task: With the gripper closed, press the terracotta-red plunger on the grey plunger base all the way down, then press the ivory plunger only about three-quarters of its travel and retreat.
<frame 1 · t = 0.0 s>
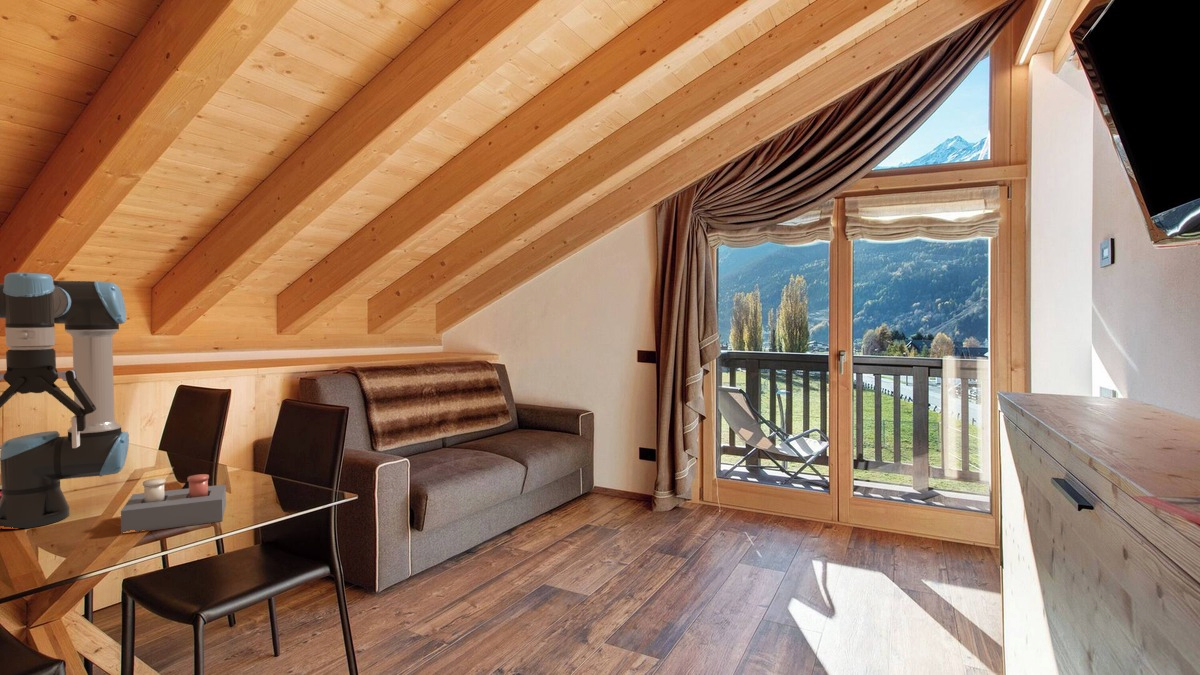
hand: (34, 450, 129), 28 cm above the table, fingers open, 13 cm apart
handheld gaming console: (185, 500, 188), on the table
ivory plunger: (154, 493, 167), point 8 cm above the table, slide at 0.0 cm
red plunger: (198, 488, 172), point 8 cm above the table, slide at 0.0 cm
grey plunger base: (177, 518, 170), on the table
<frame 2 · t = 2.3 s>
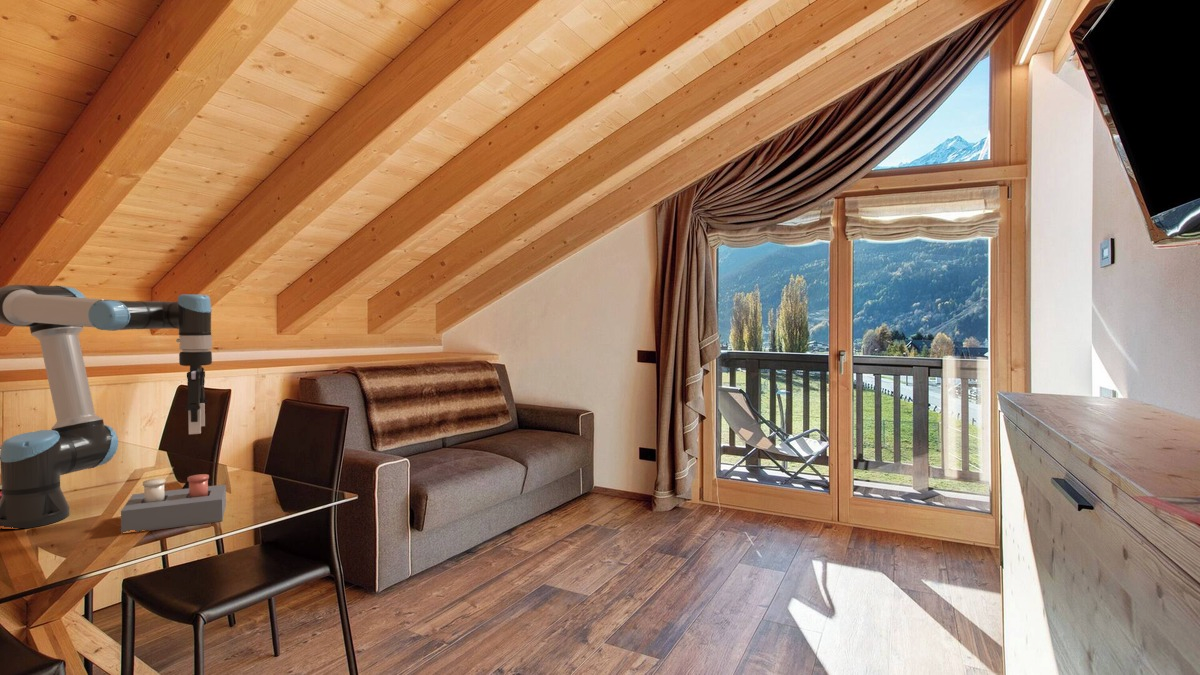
hand: (197, 429, 171), 24 cm above the table, fingers open, 11 cm apart
nothing on the table moved.
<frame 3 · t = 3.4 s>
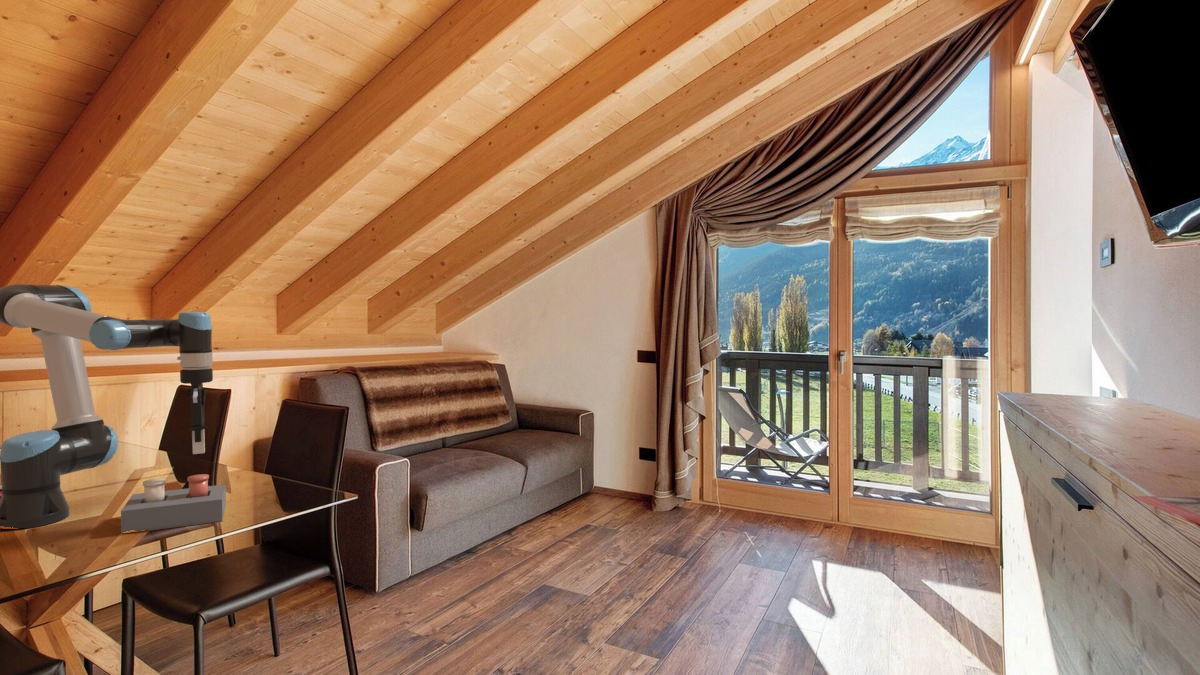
hand: (198, 453, 171), 18 cm above the table, fingers closed
nothing on the table moved.
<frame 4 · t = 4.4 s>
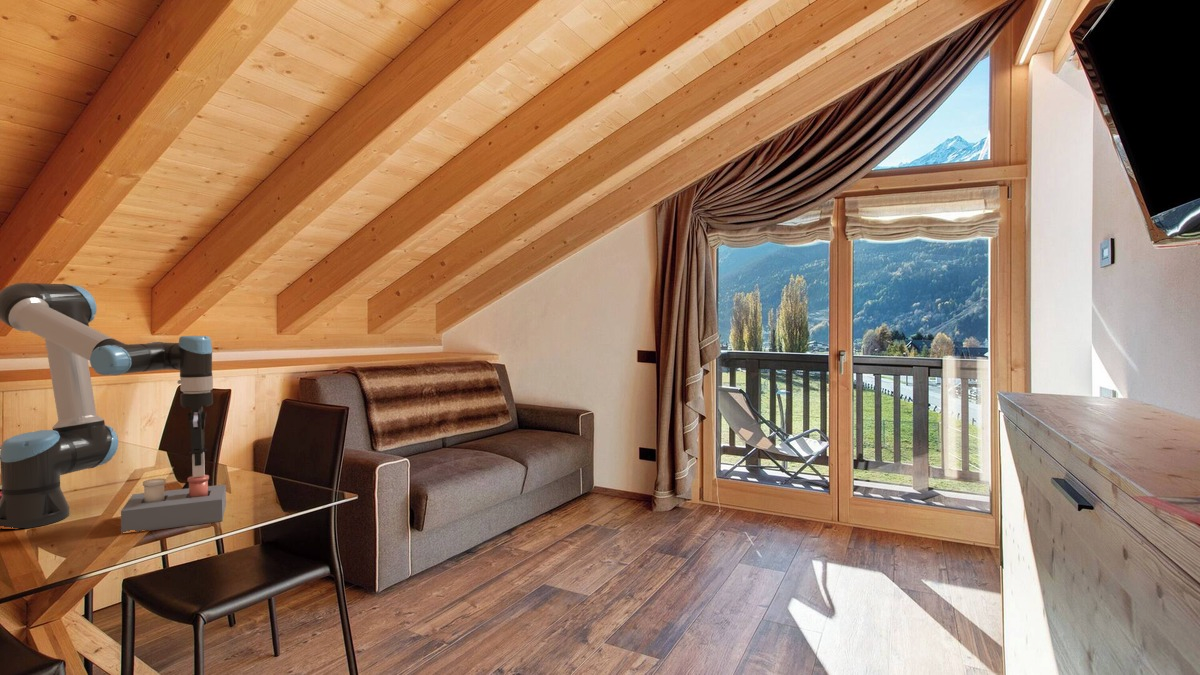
hand: (198, 476, 172), 11 cm above the table, fingers closed
red plunger: (198, 489, 172), point 7 cm above the table, slide at 0.2 cm, touching gripper
everything else where it was.
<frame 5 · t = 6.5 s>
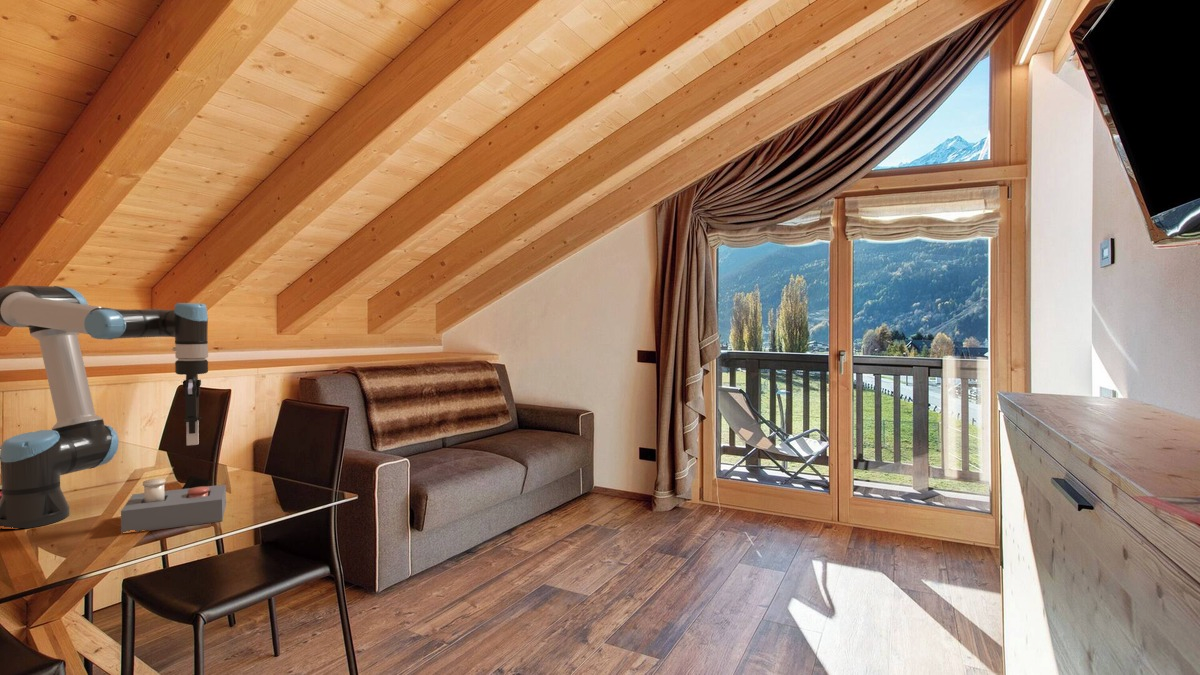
hand: (192, 444, 171), 20 cm above the table, fingers closed
red plunger: (198, 501, 172), point 4 cm above the table, slide at 3.5 cm
everything else where it was.
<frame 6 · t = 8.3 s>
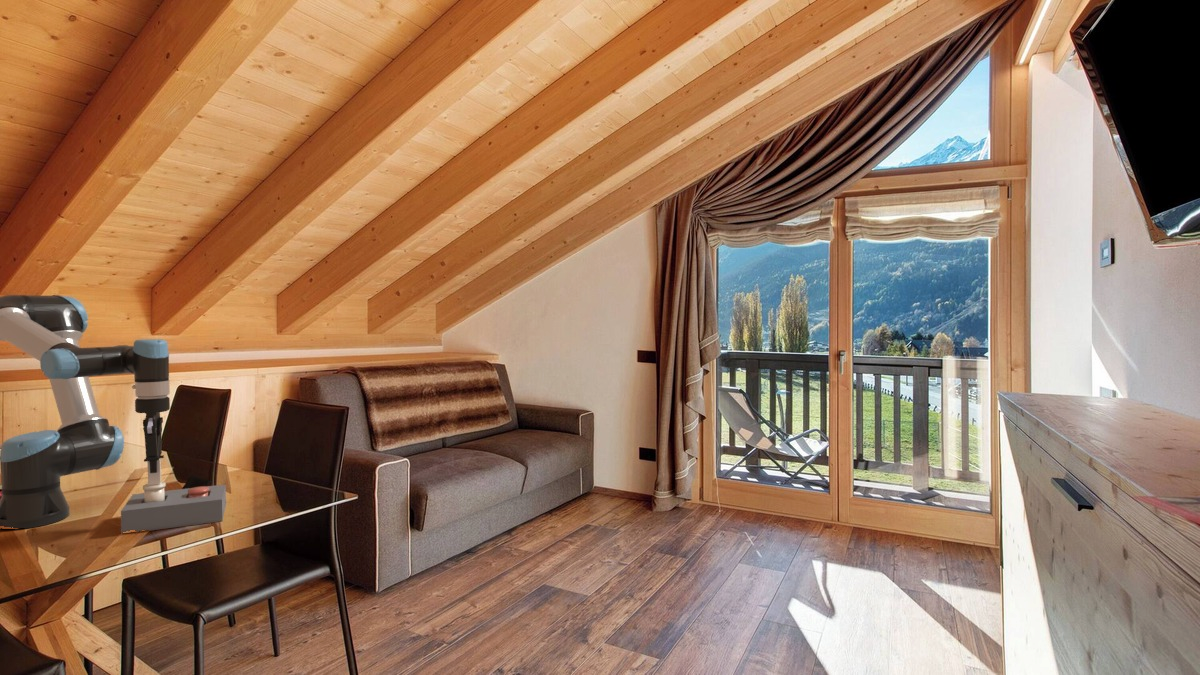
hand: (154, 483, 167), 10 cm above the table, fingers closed
ivory plunger: (154, 497, 167), point 7 cm above the table, slide at 1.0 cm, touching gripper
everything else where it was.
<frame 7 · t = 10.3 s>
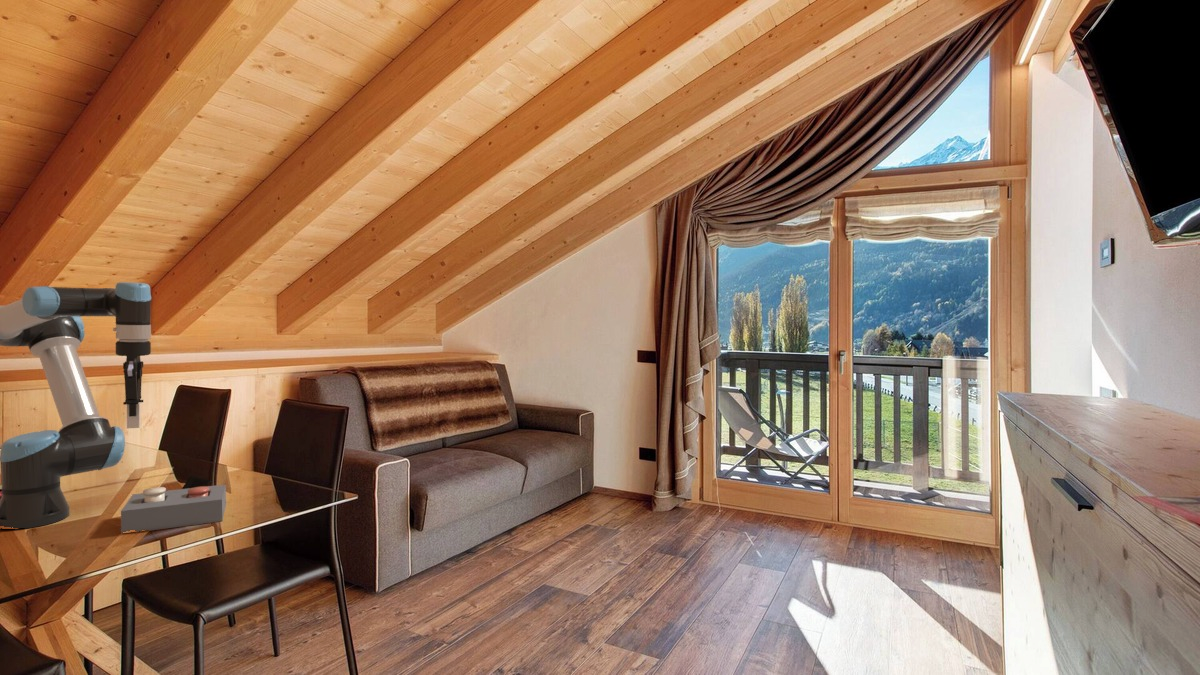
hand: (133, 427, 167), 25 cm above the table, fingers closed
ivory plunger: (154, 502, 167), point 5 cm above the table, slide at 2.4 cm
everything else where it was.
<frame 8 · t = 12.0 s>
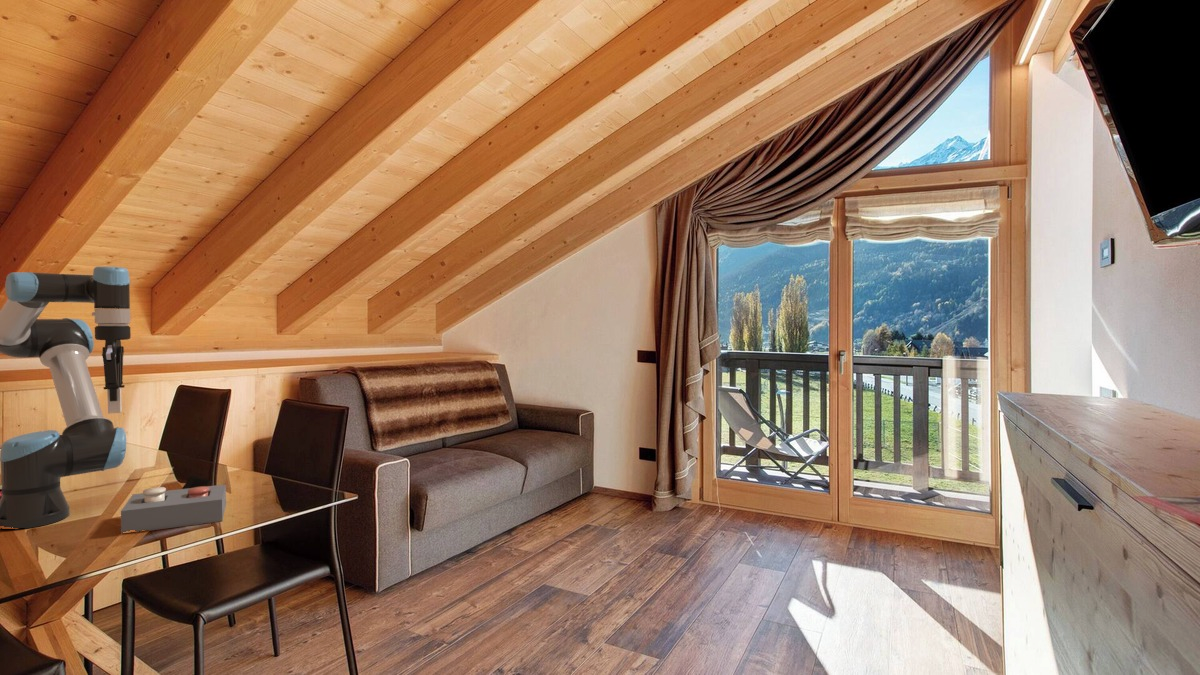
hand: (114, 412, 166), 29 cm above the table, fingers closed
nothing on the table moved.
at the end: red plunger slide at 3.5 cm; ivory plunger slide at 2.4 cm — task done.
